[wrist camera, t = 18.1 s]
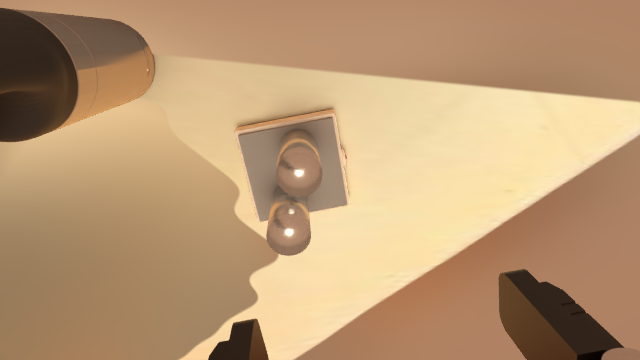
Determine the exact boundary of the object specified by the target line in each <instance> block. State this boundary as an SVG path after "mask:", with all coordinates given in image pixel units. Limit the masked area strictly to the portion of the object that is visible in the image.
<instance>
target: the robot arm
mask: <svg viewBox="0 0 640 360" xmlns="http://www.w3.org/2000/svg"><path fill="white" fill-rule="evenodd" d="M153 76H154V60H153V55H152V53H151V50H150V48H149V46H148V44H147V43H146V42H145V40H144V38H143V37H142V36H141V35H140V34H139V33H138V32H137V31H136V30H134V29H133V28H131V27H130V26H128V25H126V24H124V23H122V22H119V21H115V20H110V19H101V18H93V17H83V16H74V15H64V14H54V13H44V12H35V11H23V10H14V9H5V8H0V142H19V141H24V140H29V139H32V138H36V137H38V136H41V135H43V134H46V133H49V132H52V131H54V130H57V129H59V128H62V127H65V126H67V125H70V124H72V123H75V122H77V121H80V120H83V119H85V118H87V117H90V116H93V115H96V114H98V113H101V112H103V111H106V110H109V109H111V108H114V107H116V106H120V105H122V104H125V103H127V102H130V101H132V100H134V99H137V98H139V97H140V96H141V95H143V94H144V93H145V92H146V91H147V89H148V88H149V87H150V84H151V82H152V80H153ZM499 312H500V318H501V321H502V324H503V326H504V328H505V330H506V332H507V333H508V334H509V336H510V337H511V339H512V340H513V341H514V343H515V344H516V345H517V347H518V348H519V349H520V351H521V352H522V354H523V355H524V357H525V358H526V359H527V360H640V351H638V350H635V349H629V348H624V347H623V346H622V345H621V344H620V343H619V342H618V341H617V340H616V339H615V338H614V337H612V336H611V335H610V334H609V333H608V332H607V331H606V330H605V329H604V328H603V327H602V326H601V325H600V324H599V323H598V322H597V321H595V320H594V319H593V318H592V317H591V316H590V315H589V314H588V313H586V312H585V310H584V309H583V308H582V307H580V306H579V305H578V304H576V303H575V301H574V300H573V299H572V298H571V297H570V296H568V294H566V292H564V291H563V290H562V289H560V288H558V287H556V286H554V285H552V284H550V283H548V282H541V283H539V282H538V281H537V280H536V279H535V278H534V277H533V276H532V275H531V274H530V273H529V272H528V271H527V270H525V269H521V270H516V271H510V272H505V273H501V274H500V276H499ZM208 360H269V359H268V354H267V351H266V347H265V344H264V340H263V337H262V333H261V330H260V326H259V323H258V320H257V319H251V320H246V321H241V322H235V323H233V325H232V330H231V334H230V339H229V340H228V341H223V342H219V343H218V344H217V346H216V347H215V348H214V350H213V351H212V353H211V354H210V355H209V359H208Z"/></svg>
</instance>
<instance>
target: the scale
mask: <svg viewBox="0 0 640 360" xmlns="http://www.w3.org/2000/svg"><path fill="white" fill-rule="evenodd" d="M295 129H302V130H305V131H307V132H309V133H310V134H311V135H312V136H313V137H314V139H315V141H316V144H317V148H318V153H319V158H320V163H321V167H322V173H323V175H322V181H321V183H320V185H319V187H318V188H317V189H316V190H315V191H314V192H313V193H311V194H309V195H308V205H309V213H310V212H315V211H320V210H326V209H331V208H336V207H341V206H347V205H350V200H349V194H348V188H347V182H346V176H345V170H344V166H347V164H346V159H347V157H346V155H345V152H344V149H341V146H340V140H339V134H338V128H337V122H336V116H335V112H334V110H333V109H331V110H326V111H320V112H315V113H310V114H305V115H299V116H294V117H289V118H284V119H278V120H273V121H268V122H263V123H257V124H252V125H247V126H242V127H237V129H236V130H235V136H236V139H237V143H238V147H239V151H240V155H241V159H242V163H243V166H244V170H245V174H246V178H247V182H248V186H249V189H250V193H251V197H252V201H253V205H254V209H255V213H256V216H257V220H258V222H262V221H268V220H269V215H270V208H271V202H272V195H273V192H274V190H275V188H276V187H277V186H278V183H277V180H276V169H277V161H278V154H279V147H280V142H281V139H282V138H283V136H284V135H285V134H286V133H287V132H289V131H291V130H295Z"/></svg>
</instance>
